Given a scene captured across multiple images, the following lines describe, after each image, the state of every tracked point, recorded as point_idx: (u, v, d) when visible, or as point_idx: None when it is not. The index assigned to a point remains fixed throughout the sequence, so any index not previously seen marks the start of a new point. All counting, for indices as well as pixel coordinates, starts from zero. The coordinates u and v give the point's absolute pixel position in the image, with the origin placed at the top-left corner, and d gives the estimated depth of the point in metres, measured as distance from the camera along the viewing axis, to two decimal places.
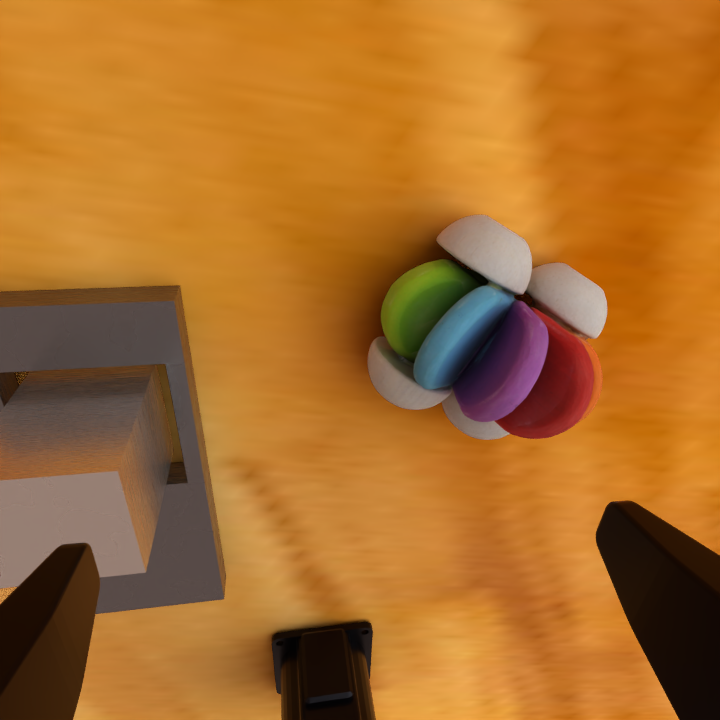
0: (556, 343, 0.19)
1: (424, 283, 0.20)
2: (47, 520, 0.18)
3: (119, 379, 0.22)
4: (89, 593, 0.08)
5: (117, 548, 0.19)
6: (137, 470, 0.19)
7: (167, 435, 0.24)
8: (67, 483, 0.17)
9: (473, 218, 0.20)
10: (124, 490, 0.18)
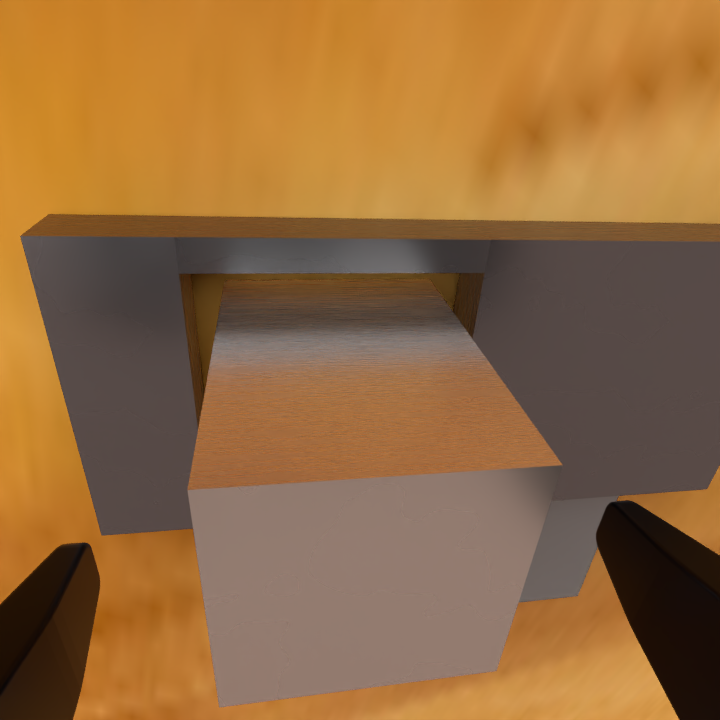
0: None
1: None
2: (335, 606, 0.08)
3: None
4: (89, 593, 0.08)
5: (456, 510, 0.07)
6: (301, 407, 0.08)
7: (380, 287, 0.13)
8: (226, 572, 0.07)
9: None
10: (264, 479, 0.07)
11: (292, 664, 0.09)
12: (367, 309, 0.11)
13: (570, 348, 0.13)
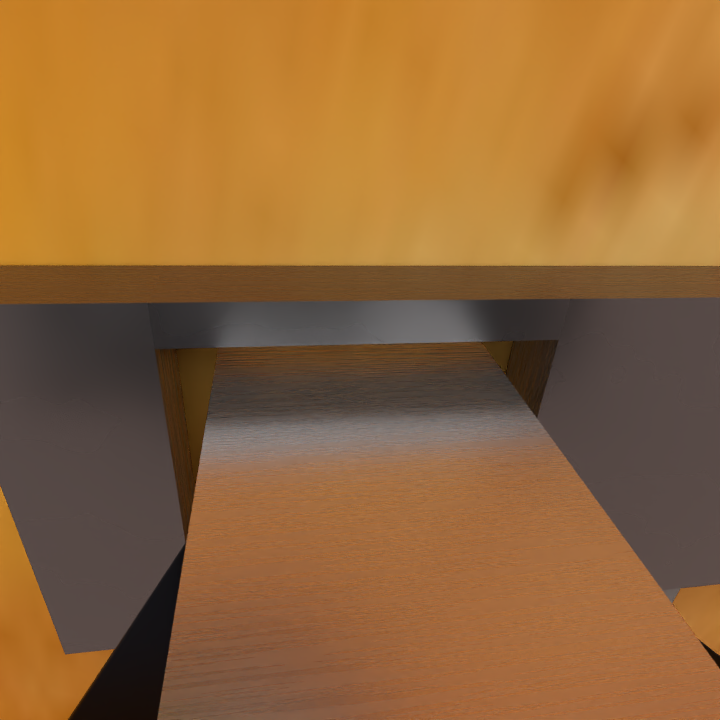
0: None
1: None
2: None
3: None
4: None
5: None
6: (328, 594, 0.05)
7: (419, 354, 0.10)
8: None
9: None
10: None
11: None
12: (407, 392, 0.09)
13: (657, 426, 0.10)
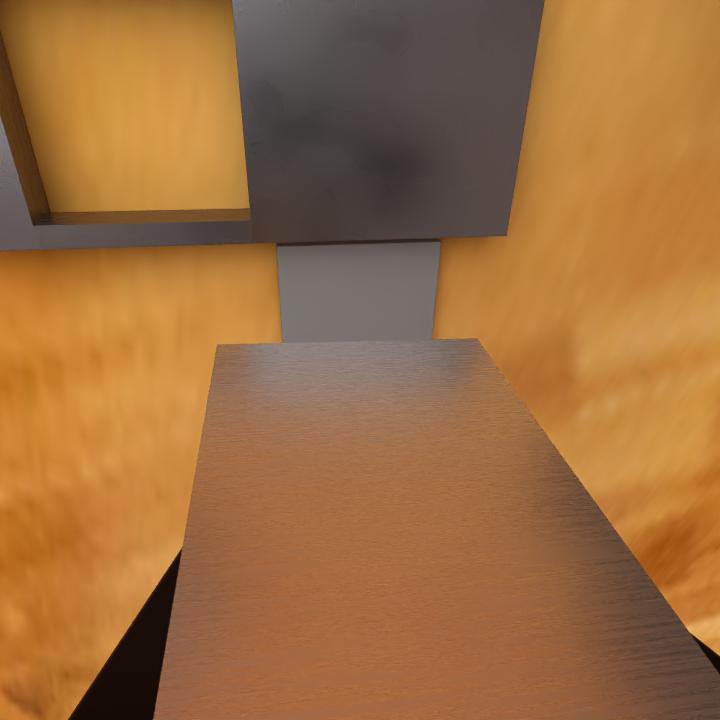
0: None
1: None
2: None
3: None
4: None
5: None
6: (325, 594, 0.05)
7: (417, 355, 0.10)
8: None
9: None
10: None
11: None
12: (405, 392, 0.09)
13: (330, 59, 0.15)
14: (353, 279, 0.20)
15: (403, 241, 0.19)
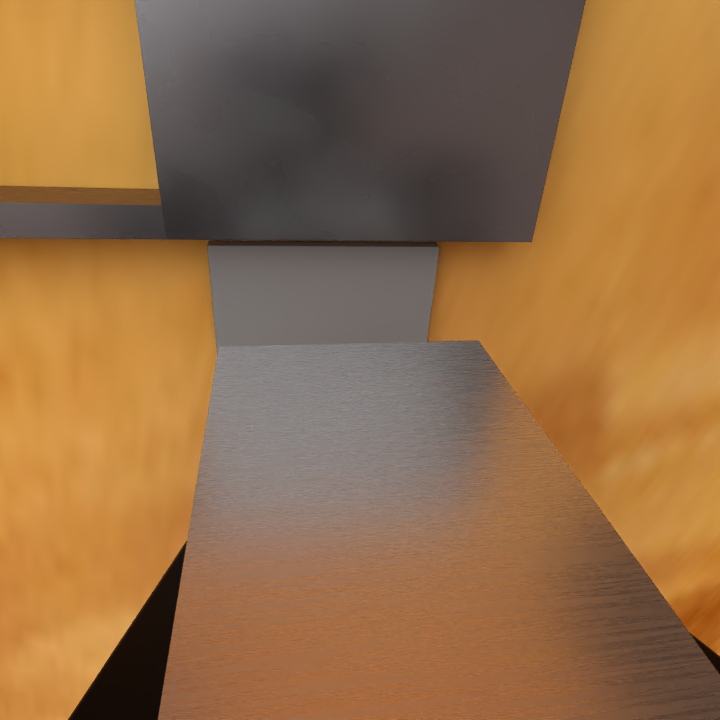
0: None
1: None
2: None
3: None
4: None
5: None
6: (327, 597, 0.05)
7: (419, 357, 0.10)
8: None
9: None
10: None
11: None
12: (406, 394, 0.09)
13: None
14: (317, 294, 0.14)
15: (387, 244, 0.14)
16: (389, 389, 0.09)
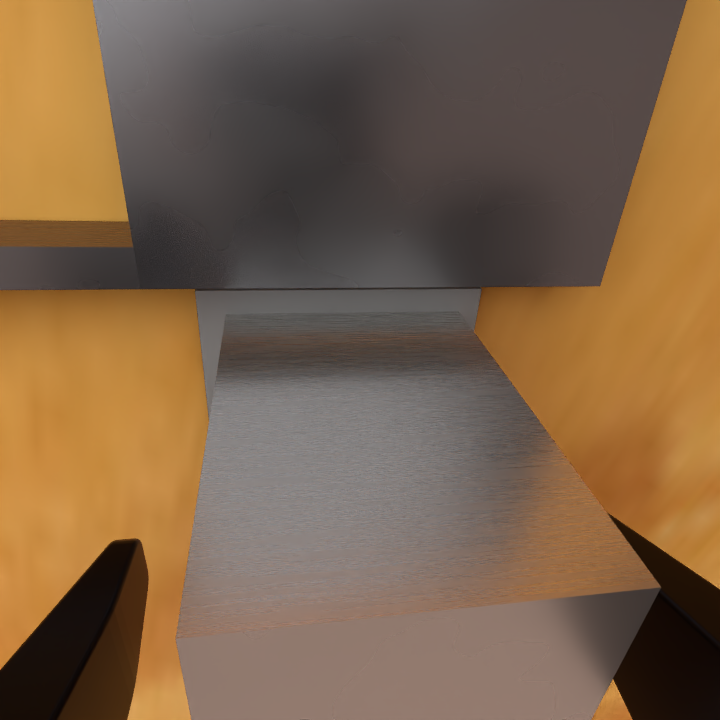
0: None
1: None
2: None
3: None
4: (140, 588, 0.08)
5: (523, 643, 0.06)
6: (320, 498, 0.06)
7: (404, 324, 0.11)
8: None
9: None
10: (279, 618, 0.05)
11: None
12: (392, 353, 0.10)
13: None
14: None
15: None
16: (377, 349, 0.10)
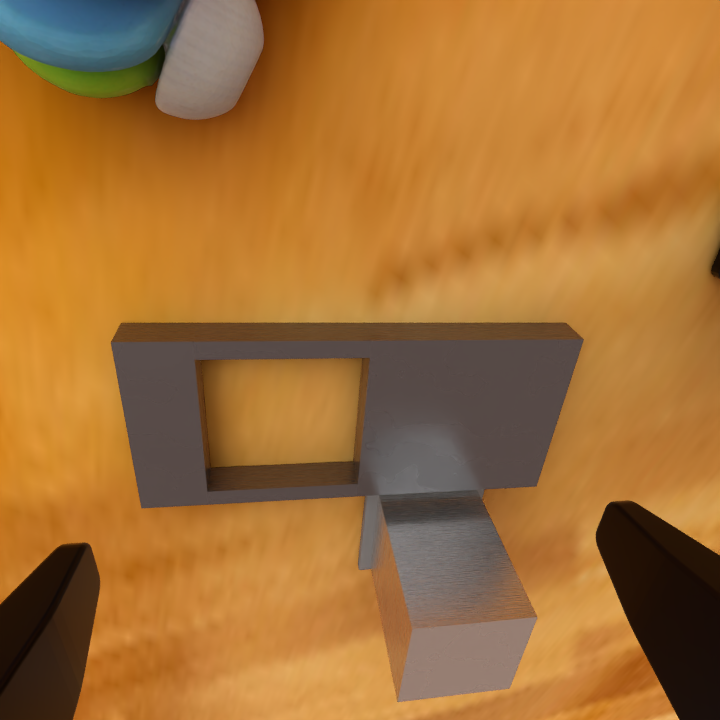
0: None
1: None
2: (450, 664, 0.21)
3: (381, 533, 0.25)
4: (89, 593, 0.08)
5: (499, 632, 0.21)
6: (438, 587, 0.21)
7: (454, 498, 0.26)
8: (416, 653, 0.20)
9: None
10: (435, 624, 0.20)
11: (429, 685, 0.22)
12: (451, 518, 0.25)
13: (428, 398, 0.22)
14: None
15: None
16: (445, 515, 0.25)
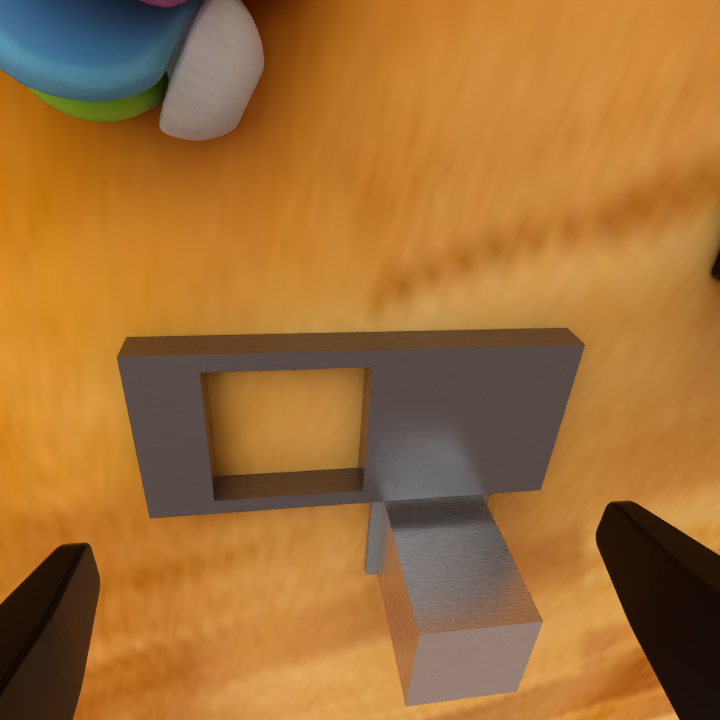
0: None
1: None
2: (457, 668, 0.21)
3: (387, 538, 0.25)
4: (89, 593, 0.08)
5: (505, 636, 0.21)
6: (444, 593, 0.21)
7: (458, 503, 0.26)
8: (423, 658, 0.21)
9: None
10: (442, 630, 0.20)
11: (437, 689, 0.22)
12: (456, 522, 0.25)
13: (431, 406, 0.22)
14: None
15: None
16: (450, 520, 0.25)
